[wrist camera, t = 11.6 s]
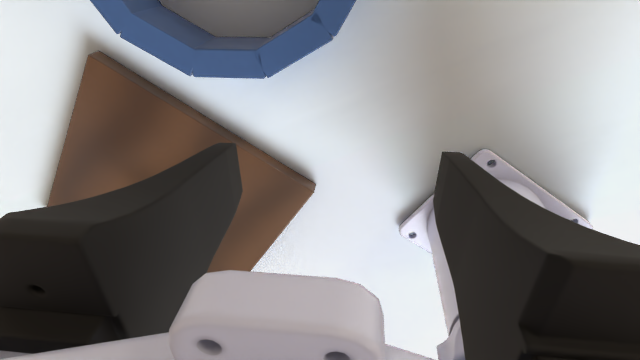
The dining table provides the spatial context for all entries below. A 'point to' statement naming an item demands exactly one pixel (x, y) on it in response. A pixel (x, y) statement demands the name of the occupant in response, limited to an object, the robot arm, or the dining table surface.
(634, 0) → the dining table surface
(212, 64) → the blue ring
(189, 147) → the platform
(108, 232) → the robot arm
